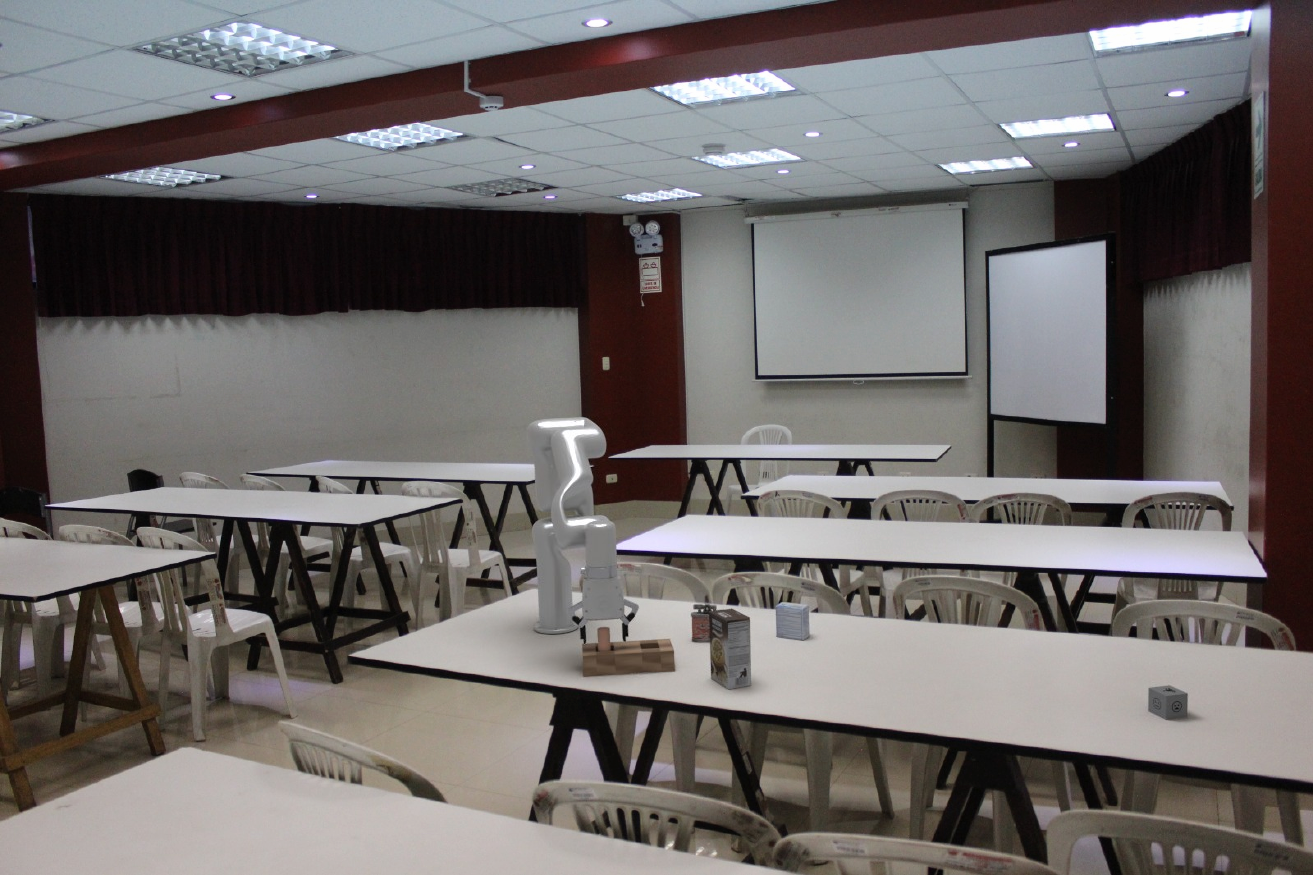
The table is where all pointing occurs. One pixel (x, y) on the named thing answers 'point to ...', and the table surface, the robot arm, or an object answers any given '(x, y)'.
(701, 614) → the lighter
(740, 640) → the coffee box
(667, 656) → the hole block
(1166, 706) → the dice cube
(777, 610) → the medicine box
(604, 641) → the peg
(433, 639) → the table surface
